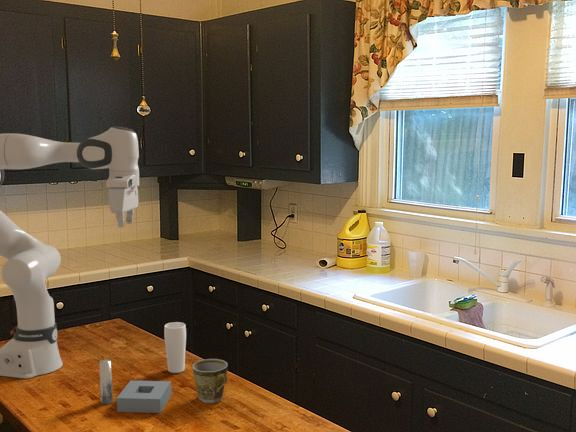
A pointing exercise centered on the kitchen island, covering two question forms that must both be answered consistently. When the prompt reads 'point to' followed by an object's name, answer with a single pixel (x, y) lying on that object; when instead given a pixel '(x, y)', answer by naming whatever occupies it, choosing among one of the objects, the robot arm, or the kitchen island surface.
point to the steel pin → (106, 381)
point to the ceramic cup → (210, 379)
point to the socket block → (144, 396)
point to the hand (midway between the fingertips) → (125, 225)
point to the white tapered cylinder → (175, 346)
